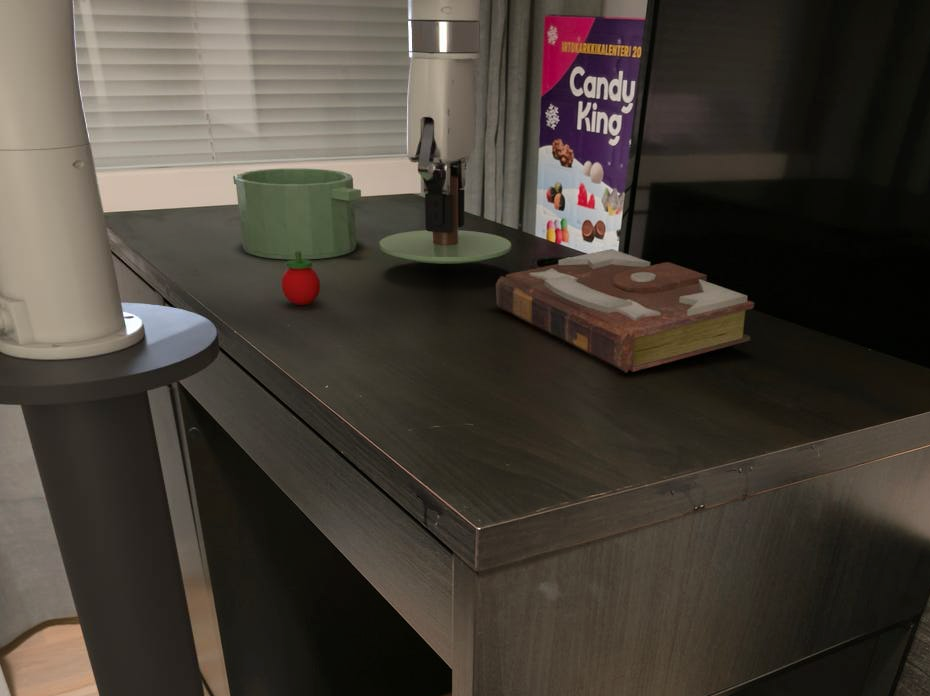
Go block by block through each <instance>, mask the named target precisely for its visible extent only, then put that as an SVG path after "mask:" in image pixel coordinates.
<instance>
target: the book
mask: <svg viewBox="0 0 930 696" xmlns="http://www.w3.org/2000/svg"><path fill="white" fill-rule="evenodd" d="M707 276H708V275H707V274H705V273H701V272H698V271H696V270H694V269H690V268H687V267H684V266H681V265H678V264H675V263H672V262H669V261H666V262H661V263H657V264H653V265H651V261H648V260H646V259H642V258H639V257H636V256H634V255H630V254H628V253H626V252H625V253H624V252H621V251H619V250H616V249H613V248H609V249H605V250H601V251H596V252H590V253H586V254H581V255H576V256H572V257H566V258H561V259H558V263H555V264H551V265H545V266H541V267H537V268H532V269H526V270H521V271H517V272H512V273H508V274H505V276H503V275H501V276H499V278H498V279H497V281H496V282H495V297H496V299H495V300H496V306H497V307H498V308H500V309H501V310H503V311H504V312H506V313H508V314H510V315H512V316H514V317H516V318H518V319H520V320H521V321H524V322H525V323H528V324H530V325H531V326H534V327H536V328H538V329H539V330H541V331H543V332H546V333H547V334H549V335H551V336H553V337H555V338H556V339H558V340H561V341H563V342H565V343H567V344H569V345H571V346H573V347H574V348H576V349H579V350H580V351H583V352H585V353H586V354H588V355H590V356H592V357H594V358H596V359H598V360H600V361H603V362H604V363H606V364H608V365H610V366H611V367H614V368H616V369H618V370H620V371H622V372H623V373H625V374H627V373H628V372H632V373H633V372H638V371H641V370H645V369H648V368H652V367H656V366H659V365H663V364H668V363H672V362H674V361H678V360H682V359H686V358H690V357H693V356H697V355H700V354H705V353H708V352H712V351H716V350H719V349H723V348H728V347H731V346H734V345H735V346H736V345H738V344H742V343H745V342H749V341H751V335H748V334H745V333H744V328H745V327H744V326H745V319H746V311H748V310H752V309H754V307H755V302H754V301H751V300H749V299H748V295H746V294H743V293H740V292H737V291H735V290H732V289H729V288H726V287H723V286H720V285H718V284H715V283H712V282H709V281H707V278H708V277H707Z"/></svg>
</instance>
